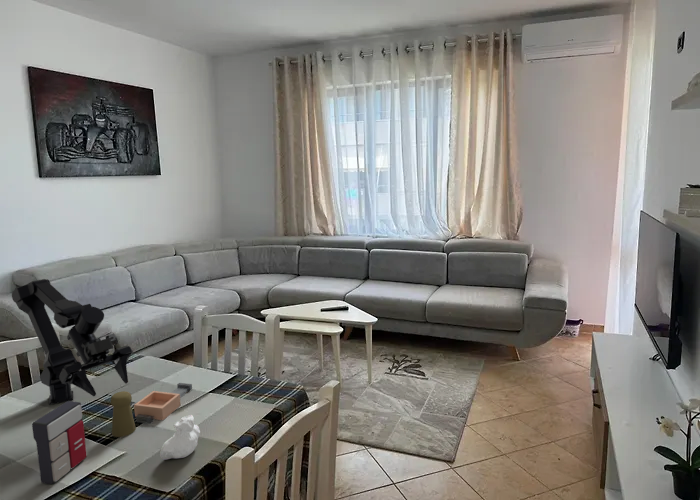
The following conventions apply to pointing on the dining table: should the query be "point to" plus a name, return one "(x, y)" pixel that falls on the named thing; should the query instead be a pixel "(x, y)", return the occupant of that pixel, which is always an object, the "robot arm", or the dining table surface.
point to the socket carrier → (158, 404)
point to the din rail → (181, 390)
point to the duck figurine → (181, 439)
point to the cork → (122, 414)
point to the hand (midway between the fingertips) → (111, 389)
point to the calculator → (59, 441)
